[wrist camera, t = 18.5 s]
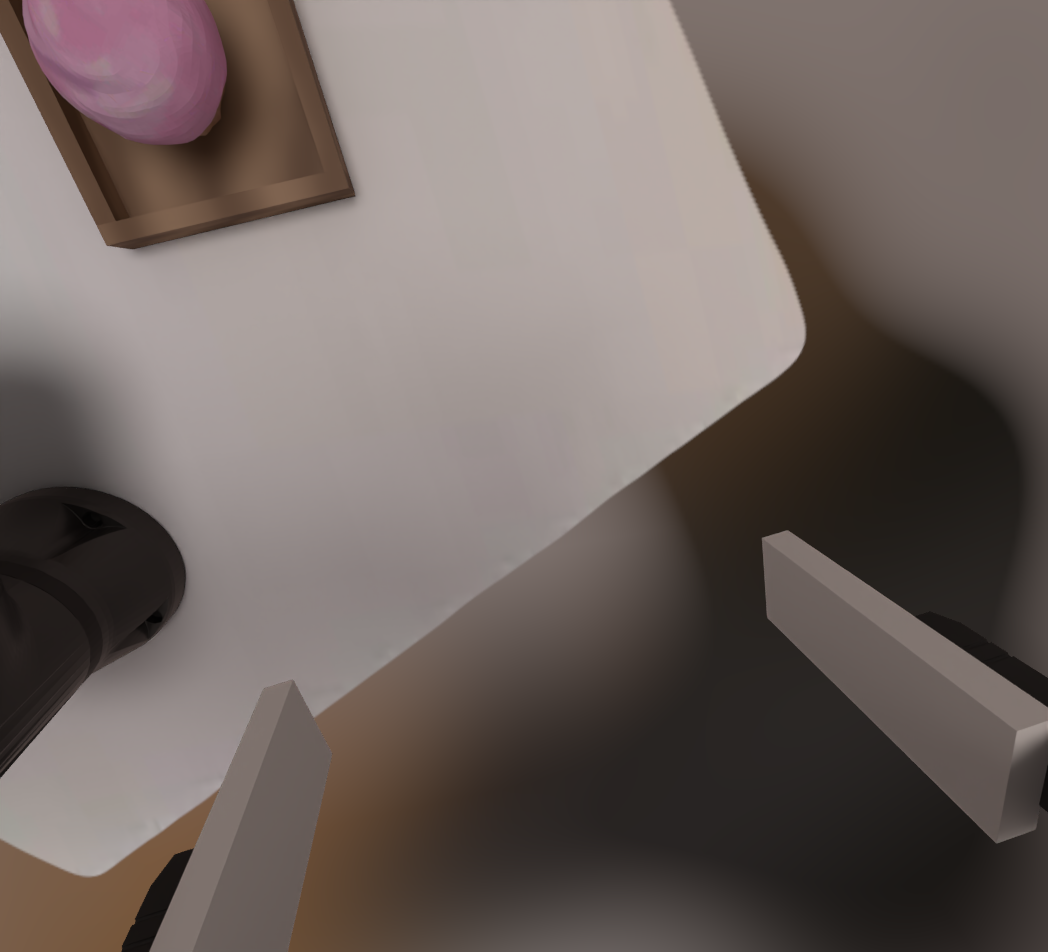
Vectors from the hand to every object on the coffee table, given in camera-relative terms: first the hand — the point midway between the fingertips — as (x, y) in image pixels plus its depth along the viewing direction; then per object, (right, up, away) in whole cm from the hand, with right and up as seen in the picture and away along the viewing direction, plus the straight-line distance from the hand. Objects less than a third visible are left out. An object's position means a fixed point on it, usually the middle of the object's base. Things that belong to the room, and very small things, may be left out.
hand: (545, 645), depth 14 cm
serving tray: (-22, +30, +19) cm, 42 cm away
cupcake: (-22, +29, +19) cm, 41 cm away
